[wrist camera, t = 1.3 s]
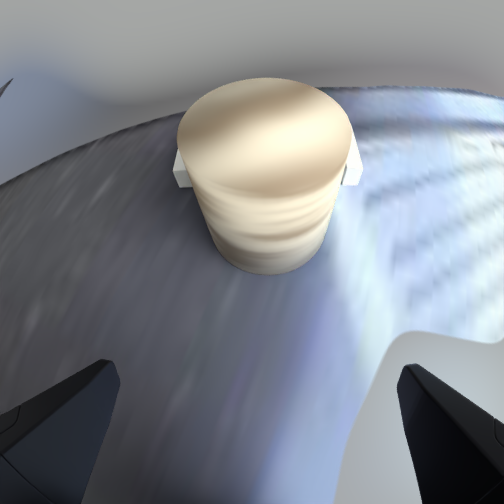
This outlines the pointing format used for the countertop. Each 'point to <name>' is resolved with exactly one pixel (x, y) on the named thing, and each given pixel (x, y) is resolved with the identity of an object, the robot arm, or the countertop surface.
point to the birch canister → (265, 169)
